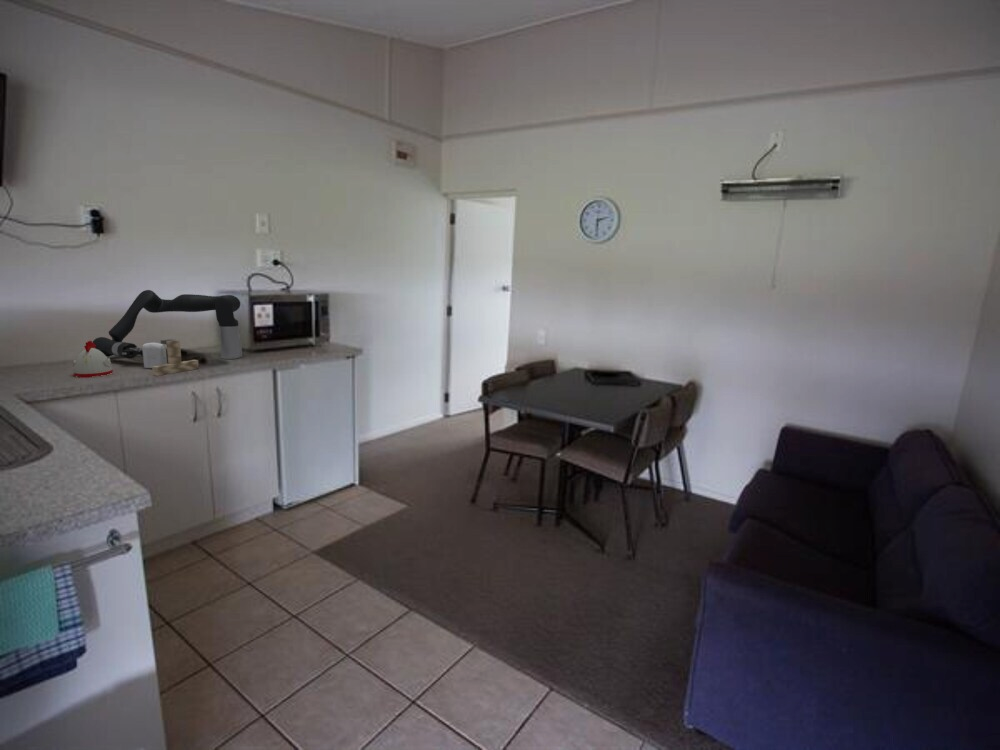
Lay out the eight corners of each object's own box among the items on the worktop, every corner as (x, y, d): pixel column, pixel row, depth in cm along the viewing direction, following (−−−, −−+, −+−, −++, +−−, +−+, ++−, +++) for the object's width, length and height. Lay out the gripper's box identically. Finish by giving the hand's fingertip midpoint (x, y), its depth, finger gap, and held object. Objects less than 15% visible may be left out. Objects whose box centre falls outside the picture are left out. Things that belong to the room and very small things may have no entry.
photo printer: (169, 367, 252) (166, 342, 250) (163, 369, 248) (160, 343, 246) (149, 366, 253) (146, 341, 251) (142, 368, 249) (139, 342, 246)
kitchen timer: (67, 378, 226) (62, 343, 223) (83, 371, 239) (78, 338, 236) (105, 377, 230) (100, 343, 227) (118, 370, 243) (114, 338, 240)
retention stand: (189, 366, 256) (186, 337, 253) (198, 368, 253) (196, 338, 250) (147, 374, 238) (143, 342, 235) (157, 375, 235) (153, 343, 232)
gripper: (109, 344, 252) (132, 347, 245) (137, 340, 264) (160, 344, 257) (111, 359, 253) (133, 363, 246) (139, 355, 265) (161, 359, 258)
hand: (147, 353), depth 251 cm, fingers closed
